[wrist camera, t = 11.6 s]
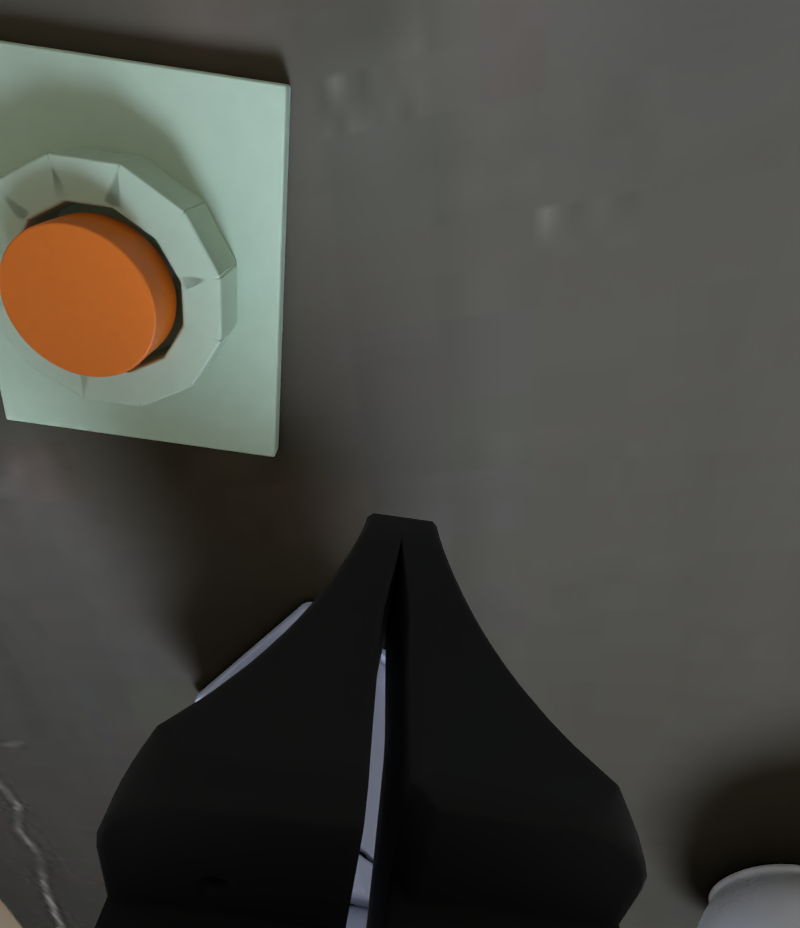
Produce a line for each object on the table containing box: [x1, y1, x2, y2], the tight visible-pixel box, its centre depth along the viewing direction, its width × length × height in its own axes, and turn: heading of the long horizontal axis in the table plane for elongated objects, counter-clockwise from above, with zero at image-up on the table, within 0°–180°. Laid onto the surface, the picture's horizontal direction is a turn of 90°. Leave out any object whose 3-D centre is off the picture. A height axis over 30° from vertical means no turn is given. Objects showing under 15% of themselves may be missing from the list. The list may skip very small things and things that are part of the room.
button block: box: [0, 40, 291, 457], centre depth 20 cm, size 12×10×2 cm
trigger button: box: [0, 212, 177, 377], centre depth 18 cm, size 4×4×2 cm
